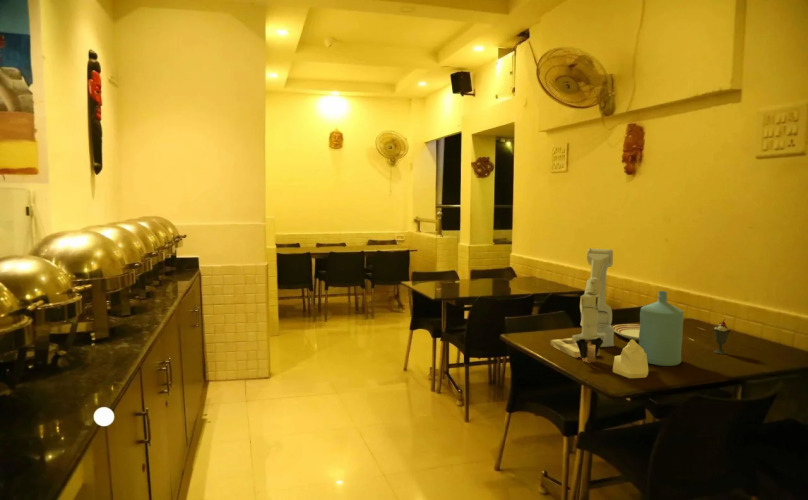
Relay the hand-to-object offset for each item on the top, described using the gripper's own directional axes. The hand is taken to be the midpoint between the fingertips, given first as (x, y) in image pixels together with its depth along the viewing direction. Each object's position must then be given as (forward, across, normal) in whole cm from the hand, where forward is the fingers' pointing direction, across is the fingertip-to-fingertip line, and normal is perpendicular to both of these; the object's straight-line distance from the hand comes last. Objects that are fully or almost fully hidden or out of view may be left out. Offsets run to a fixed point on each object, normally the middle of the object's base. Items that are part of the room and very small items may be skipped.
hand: (588, 357), depth 207 cm
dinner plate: (+2, +46, +23) cm, 51 cm away
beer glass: (+2, +33, +48) cm, 58 cm away
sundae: (+2, +60, -6) cm, 60 cm away
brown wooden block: (+2, 0, 0) cm, 2 cm away
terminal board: (+2, +3, +14) cm, 14 cm away
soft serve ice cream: (+2, +8, -16) cm, 18 cm away
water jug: (+2, +28, -7) cm, 29 cm away
